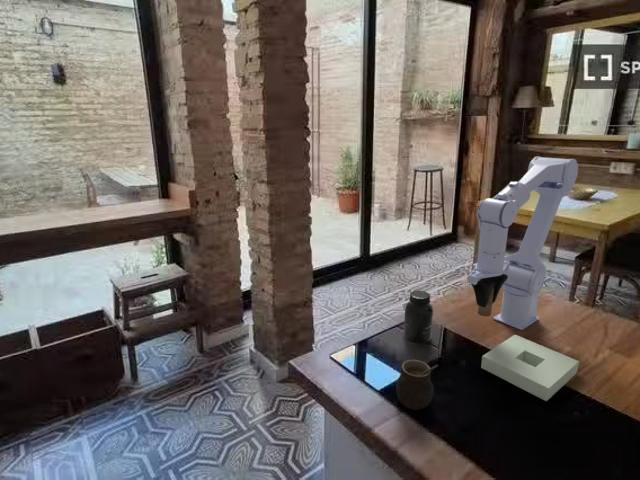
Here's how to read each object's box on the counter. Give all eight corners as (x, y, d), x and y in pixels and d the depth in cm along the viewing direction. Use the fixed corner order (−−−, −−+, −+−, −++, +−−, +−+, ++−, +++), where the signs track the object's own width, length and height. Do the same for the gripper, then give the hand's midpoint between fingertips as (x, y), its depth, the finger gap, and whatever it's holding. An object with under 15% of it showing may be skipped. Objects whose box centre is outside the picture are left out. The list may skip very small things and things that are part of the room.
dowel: (482, 309, 99) (485, 283, 97) (493, 313, 97) (496, 287, 95) (475, 313, 98) (478, 286, 95) (486, 317, 95) (489, 290, 93)
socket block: (513, 345, 97) (514, 334, 96) (576, 373, 86) (579, 361, 85) (480, 367, 89) (482, 355, 88) (546, 401, 78) (548, 388, 77)
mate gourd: (398, 386, 83) (401, 344, 80) (436, 395, 80) (440, 352, 77) (391, 408, 77) (393, 364, 74) (431, 419, 74) (435, 374, 71)
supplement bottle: (432, 346, 97) (435, 301, 93) (403, 343, 98) (405, 299, 95) (430, 331, 104) (433, 289, 100) (403, 329, 105) (405, 287, 101)
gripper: (493, 240, 99) (487, 290, 104) (457, 252, 91) (453, 306, 95) (520, 247, 94) (513, 299, 98) (486, 261, 86) (479, 317, 90)
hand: (485, 303), depth 96 cm, fingers closed on dowel, 3 cm apart
